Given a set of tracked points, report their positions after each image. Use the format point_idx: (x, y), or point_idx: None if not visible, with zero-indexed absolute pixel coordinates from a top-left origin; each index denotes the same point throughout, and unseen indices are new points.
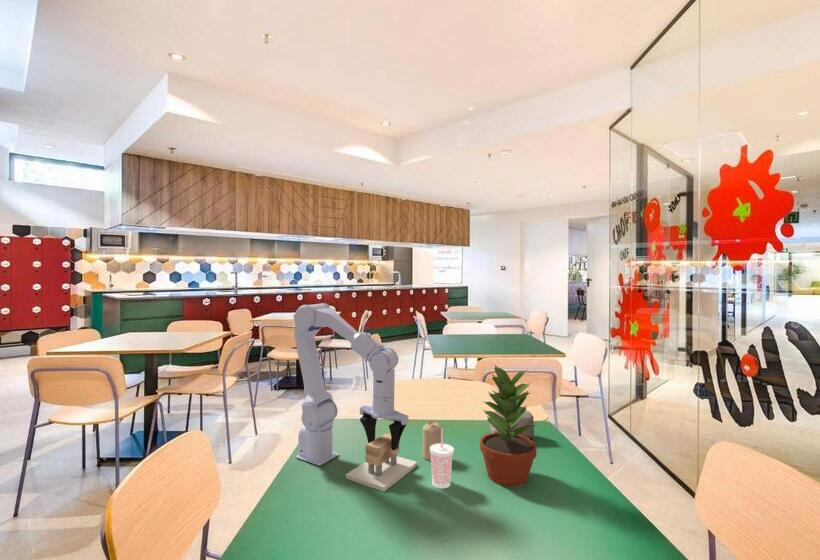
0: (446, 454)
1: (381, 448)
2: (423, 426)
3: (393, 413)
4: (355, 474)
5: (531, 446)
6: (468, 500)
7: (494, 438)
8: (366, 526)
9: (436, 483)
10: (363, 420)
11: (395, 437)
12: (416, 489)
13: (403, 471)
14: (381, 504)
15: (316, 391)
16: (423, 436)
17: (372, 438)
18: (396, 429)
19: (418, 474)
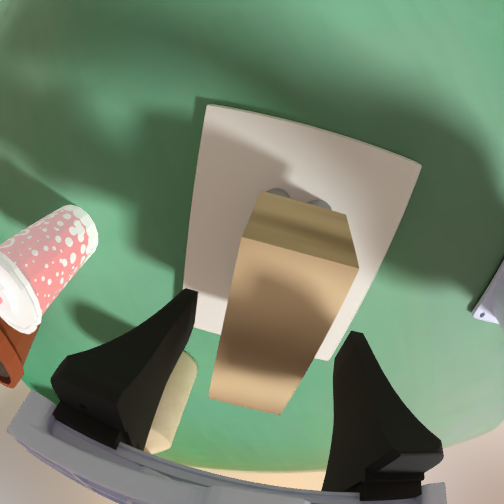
0: None
1: (236, 264)
2: (168, 442)
3: (125, 502)
4: (381, 175)
5: None
6: (8, 177)
7: (3, 368)
8: None
9: (67, 210)
10: (416, 450)
11: (128, 332)
12: (115, 170)
13: (190, 253)
14: (185, 23)
15: None
16: (167, 409)
17: (343, 363)
18: (64, 359)
19: (153, 264)
